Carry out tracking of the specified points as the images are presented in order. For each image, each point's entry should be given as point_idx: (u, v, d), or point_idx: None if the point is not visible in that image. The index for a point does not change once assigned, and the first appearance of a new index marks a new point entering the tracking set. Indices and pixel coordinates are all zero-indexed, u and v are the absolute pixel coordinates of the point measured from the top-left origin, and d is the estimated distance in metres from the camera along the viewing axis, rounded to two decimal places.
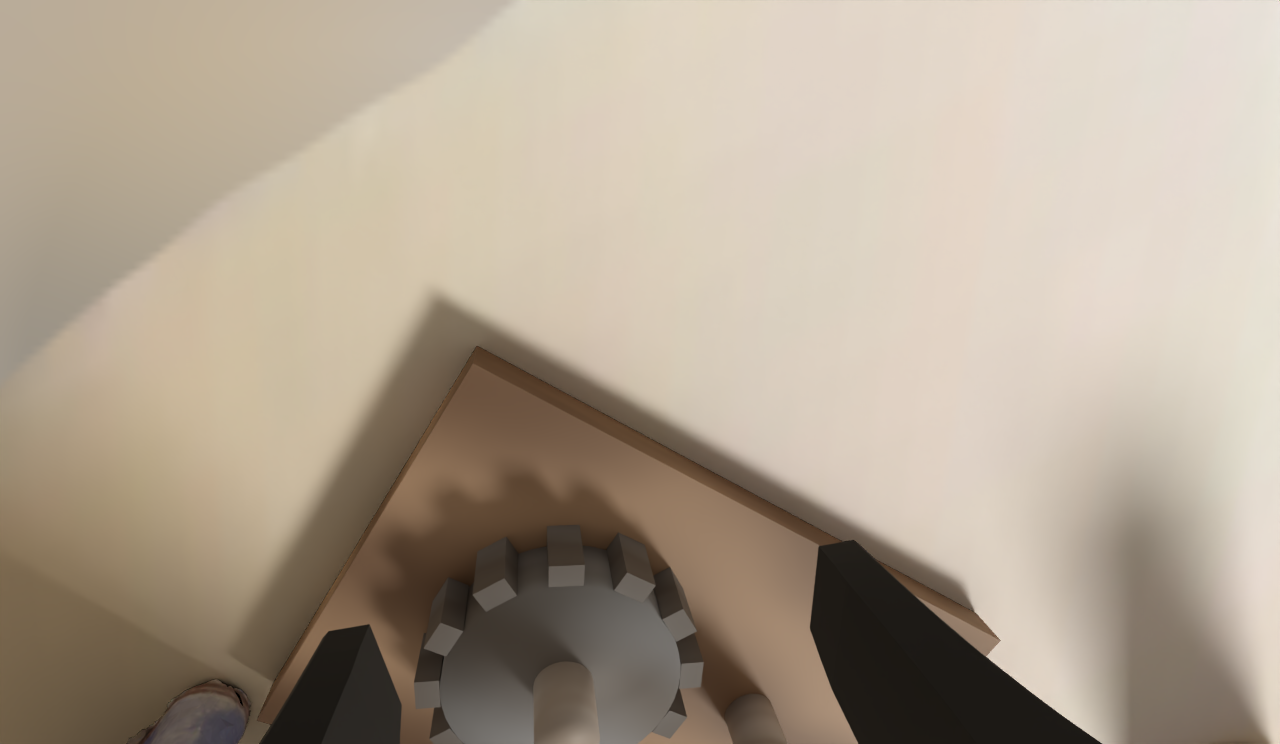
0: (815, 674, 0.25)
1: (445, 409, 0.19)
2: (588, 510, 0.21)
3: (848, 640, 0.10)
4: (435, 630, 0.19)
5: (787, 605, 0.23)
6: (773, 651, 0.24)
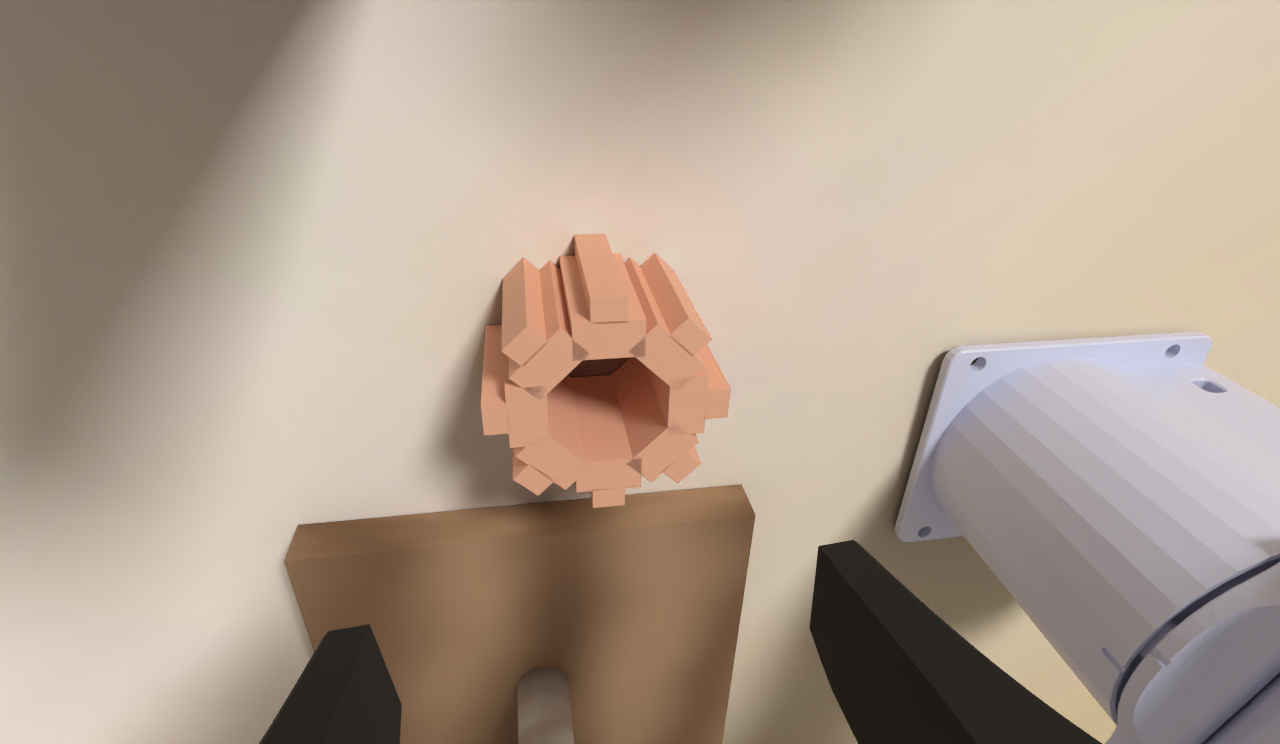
0: (466, 670, 0.23)
1: None
2: None
3: (848, 640, 0.10)
4: None
5: (417, 730, 0.24)
6: (467, 709, 0.24)
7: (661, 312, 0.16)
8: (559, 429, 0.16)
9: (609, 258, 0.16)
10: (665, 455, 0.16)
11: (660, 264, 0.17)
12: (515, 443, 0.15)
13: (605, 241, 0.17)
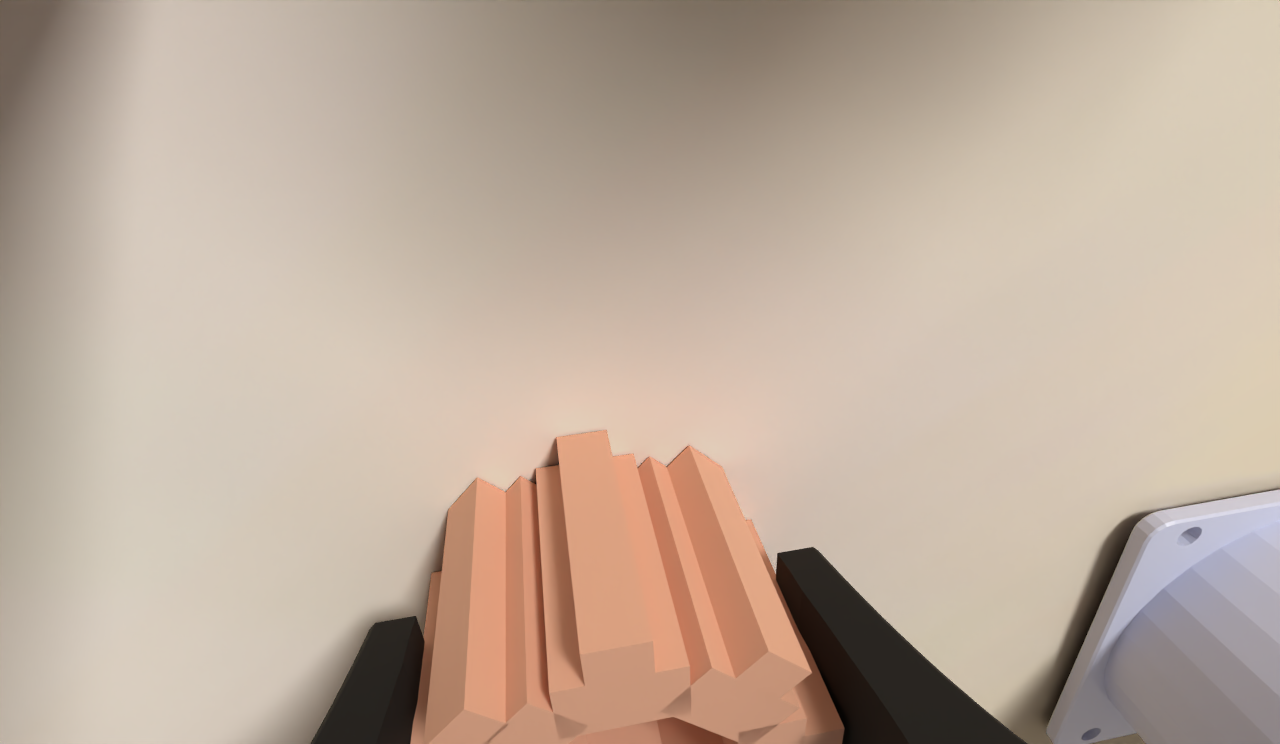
0: None
1: None
2: None
3: None
4: None
5: None
6: None
7: (712, 603, 0.09)
8: None
9: (614, 504, 0.09)
10: None
11: (700, 476, 0.11)
12: None
13: (607, 450, 0.10)
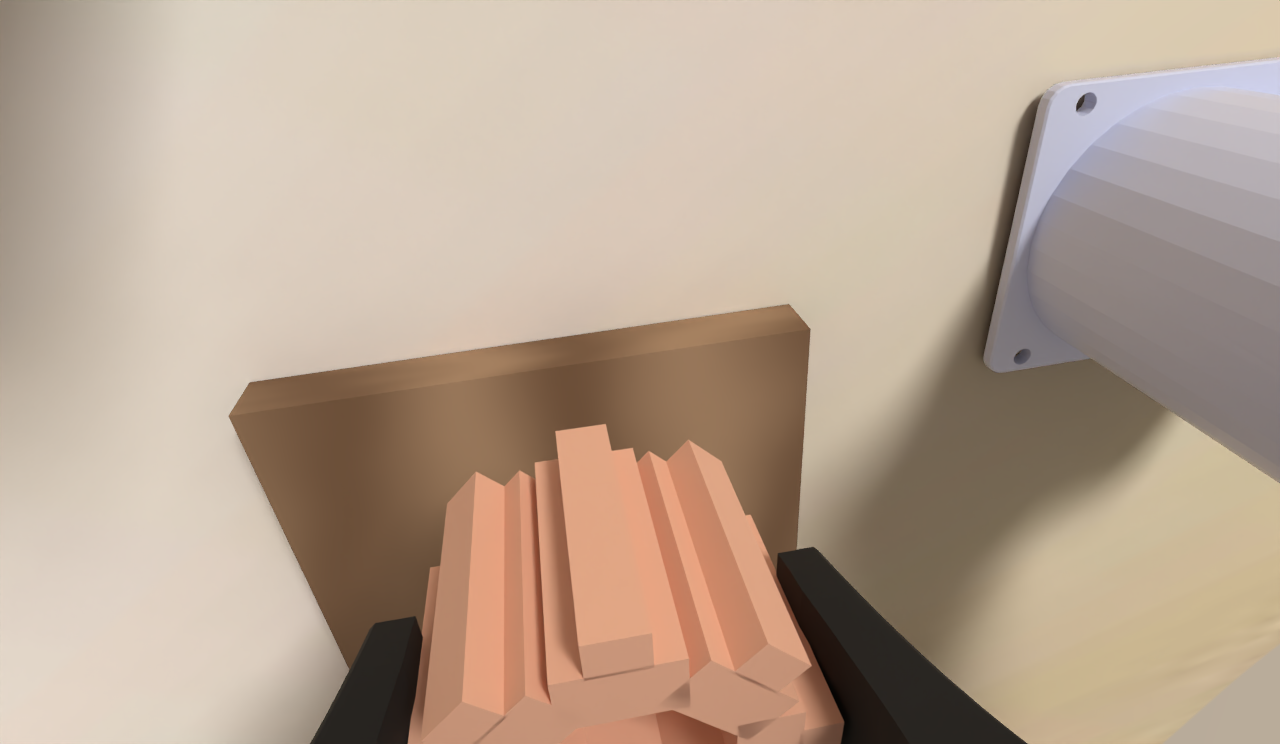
0: None
1: None
2: None
3: None
4: None
5: None
6: None
7: (712, 597, 0.09)
8: None
9: (613, 497, 0.09)
10: None
11: (700, 470, 0.10)
12: None
13: (606, 444, 0.10)
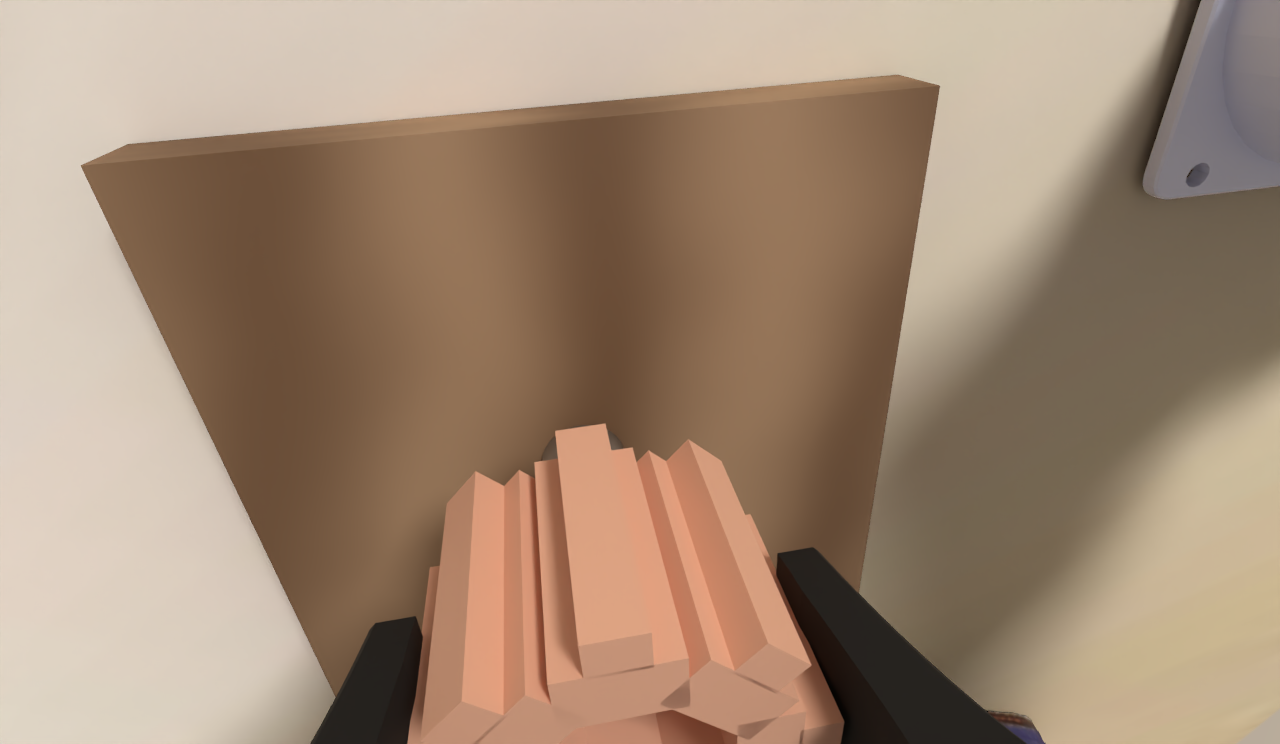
0: (455, 429, 0.14)
1: None
2: None
3: None
4: None
5: (389, 548, 0.15)
6: None
7: (711, 596, 0.09)
8: None
9: (613, 496, 0.09)
10: None
11: (699, 469, 0.10)
12: None
13: (606, 444, 0.10)
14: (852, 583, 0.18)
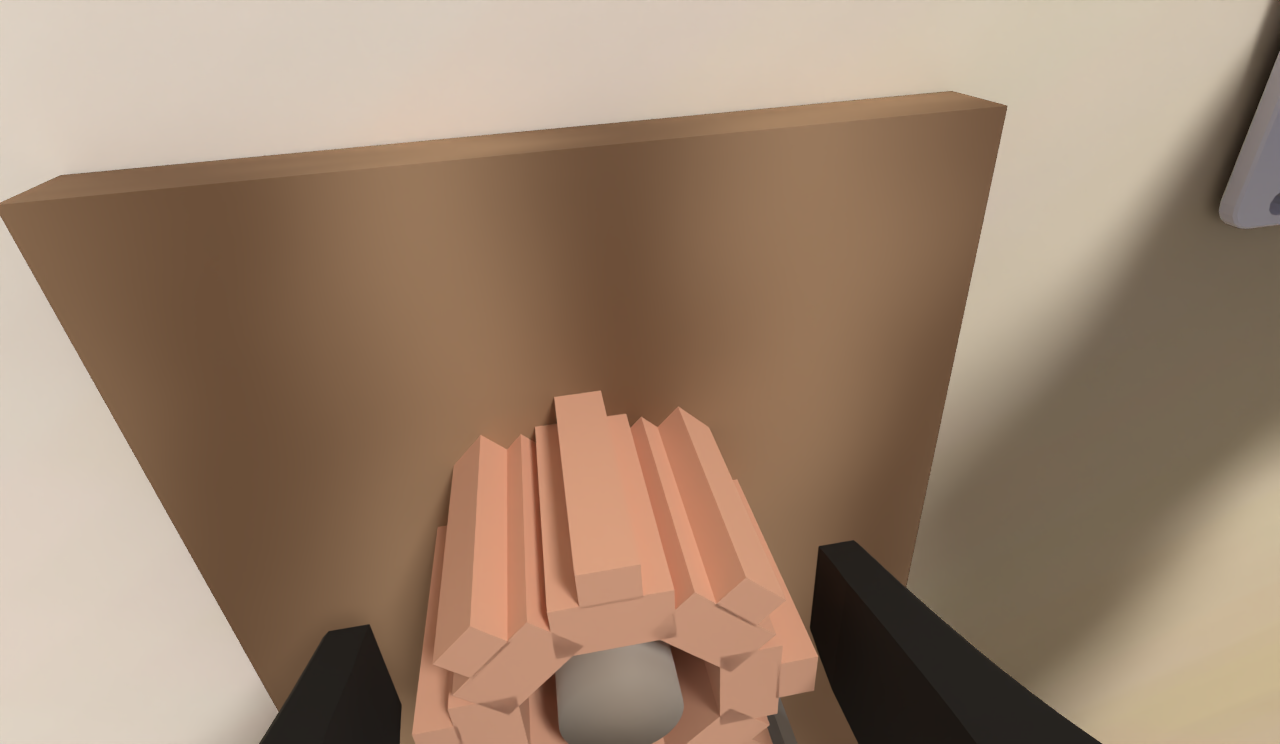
0: (445, 494, 0.12)
1: None
2: None
3: (848, 640, 0.10)
4: None
5: (372, 622, 0.13)
6: None
7: (697, 542, 0.10)
8: (550, 716, 0.10)
9: (607, 452, 0.10)
10: None
11: (688, 432, 0.11)
12: None
13: (601, 408, 0.11)
14: None
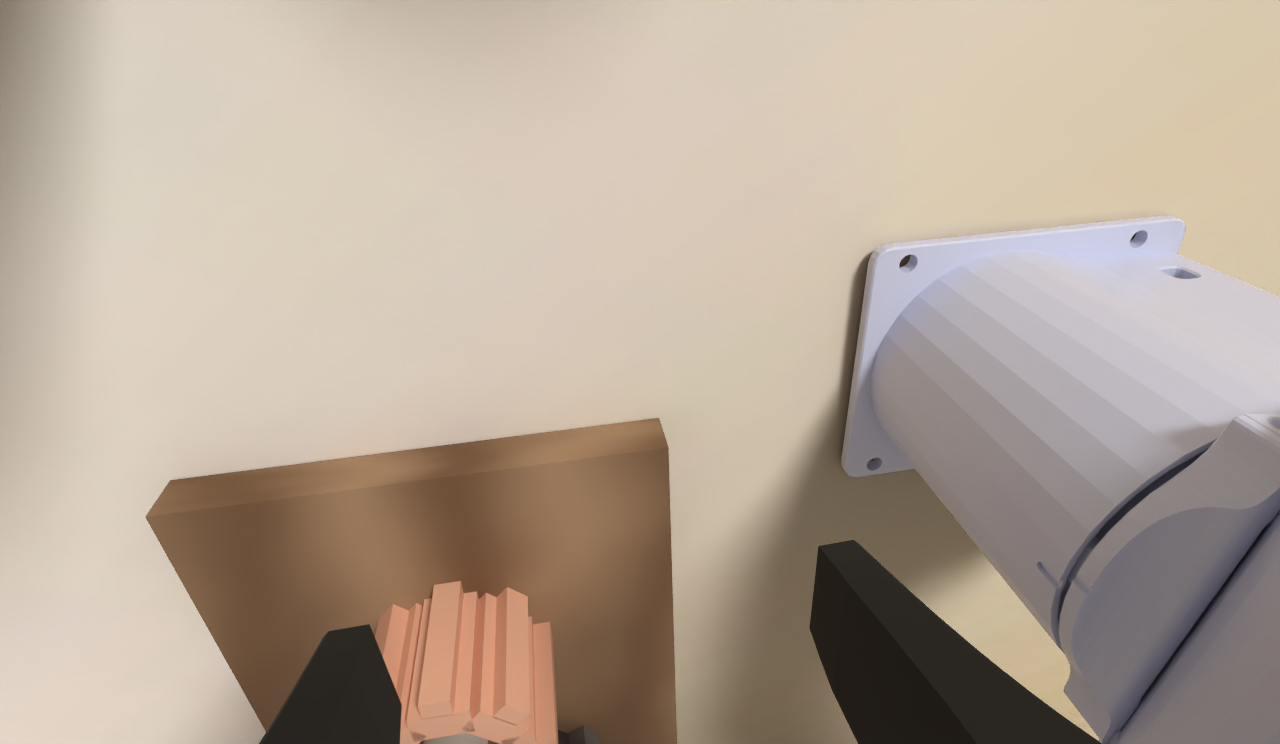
0: (374, 633, 0.21)
1: None
2: None
3: (848, 640, 0.10)
4: None
5: None
6: None
7: (494, 679, 0.19)
8: None
9: (452, 628, 0.19)
10: None
11: (507, 607, 0.20)
12: None
13: (457, 595, 0.20)
14: (670, 712, 0.26)
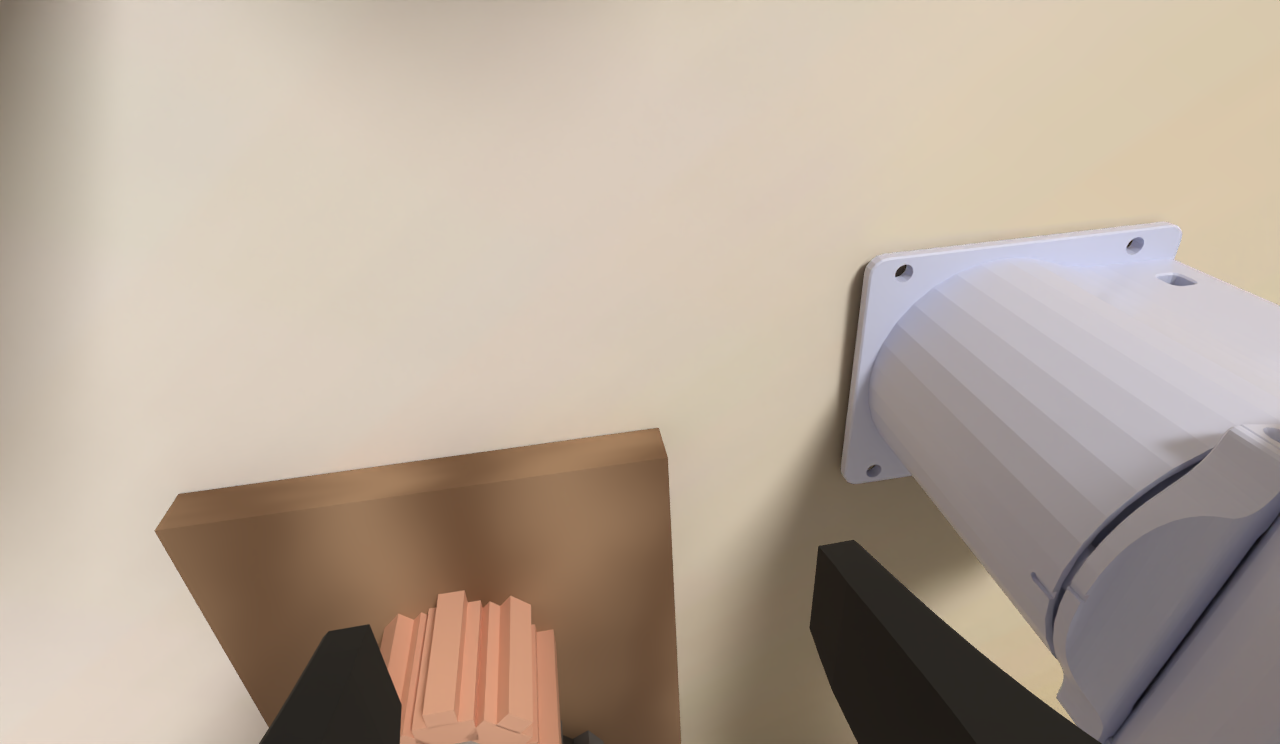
0: (380, 642, 0.22)
1: None
2: None
3: (848, 640, 0.10)
4: None
5: None
6: None
7: (497, 687, 0.19)
8: None
9: (456, 637, 0.19)
10: None
11: (510, 616, 0.21)
12: None
13: (461, 604, 0.20)
14: (674, 717, 0.26)
